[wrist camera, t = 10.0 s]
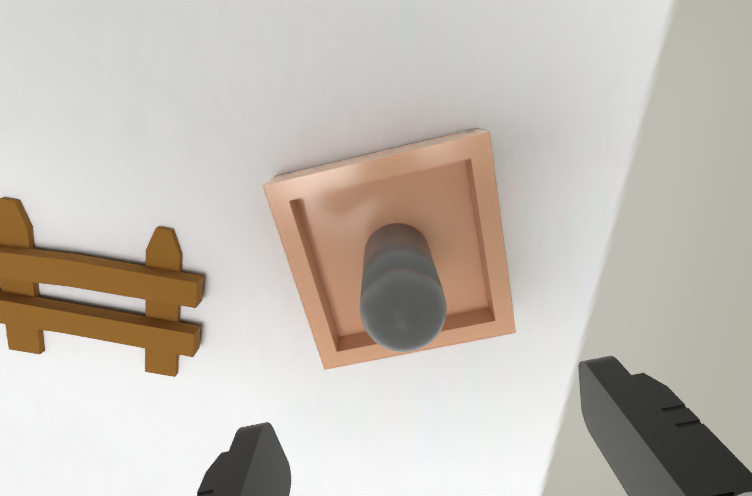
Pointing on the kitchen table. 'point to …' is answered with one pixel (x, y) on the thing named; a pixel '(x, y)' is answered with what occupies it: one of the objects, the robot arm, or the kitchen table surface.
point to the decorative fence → (151, 282)
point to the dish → (387, 206)
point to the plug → (401, 290)
